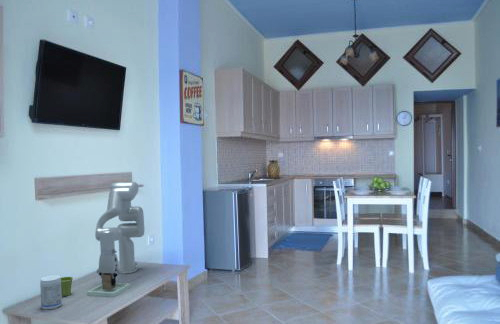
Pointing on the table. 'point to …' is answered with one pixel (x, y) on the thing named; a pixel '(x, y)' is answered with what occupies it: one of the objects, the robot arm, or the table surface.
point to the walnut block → (107, 281)
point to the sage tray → (108, 293)
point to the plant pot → (66, 285)
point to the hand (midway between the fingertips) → (109, 284)
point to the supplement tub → (51, 292)
